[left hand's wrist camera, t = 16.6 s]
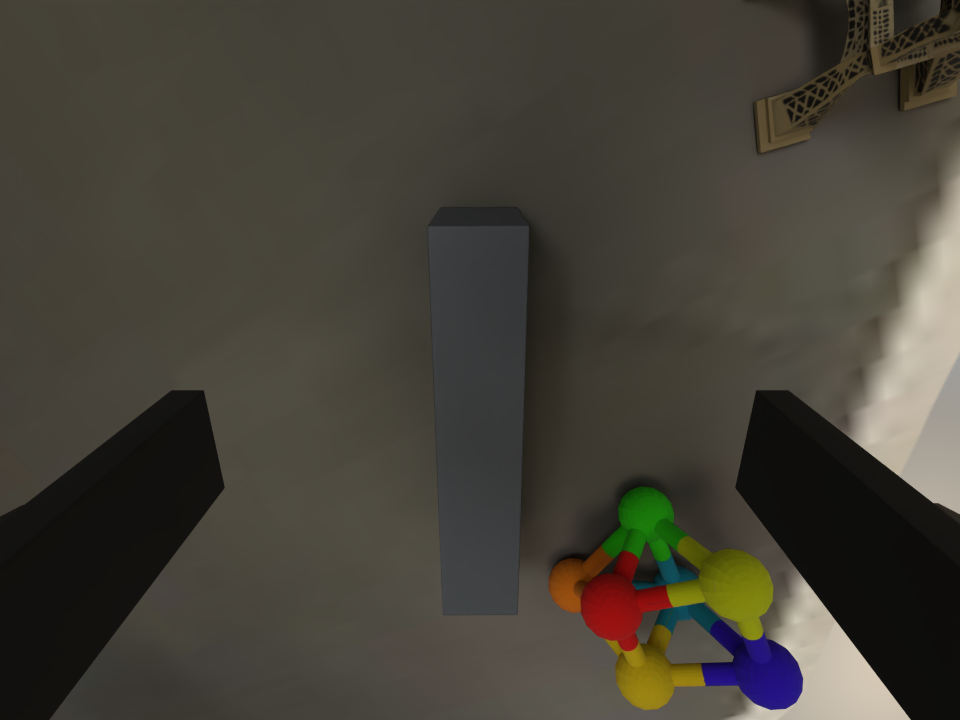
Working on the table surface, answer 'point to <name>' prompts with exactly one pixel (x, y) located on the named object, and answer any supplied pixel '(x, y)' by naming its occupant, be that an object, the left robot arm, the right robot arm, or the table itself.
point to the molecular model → (676, 609)
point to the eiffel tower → (870, 70)
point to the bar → (479, 401)
